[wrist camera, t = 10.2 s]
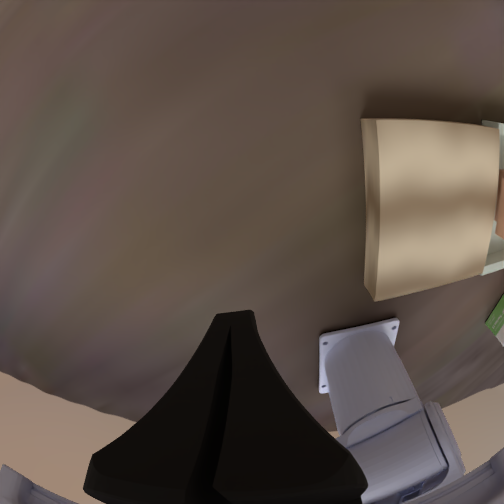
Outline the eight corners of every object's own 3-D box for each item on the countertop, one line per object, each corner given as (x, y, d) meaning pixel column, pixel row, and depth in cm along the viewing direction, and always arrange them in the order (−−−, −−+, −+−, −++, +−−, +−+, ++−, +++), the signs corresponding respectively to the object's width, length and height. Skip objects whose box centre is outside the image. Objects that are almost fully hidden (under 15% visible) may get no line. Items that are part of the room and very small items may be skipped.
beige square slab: (467, 260, 21) (482, 273, 19) (363, 284, 22) (374, 301, 20) (479, 124, 15) (499, 128, 13) (360, 118, 16) (376, 119, 14)
